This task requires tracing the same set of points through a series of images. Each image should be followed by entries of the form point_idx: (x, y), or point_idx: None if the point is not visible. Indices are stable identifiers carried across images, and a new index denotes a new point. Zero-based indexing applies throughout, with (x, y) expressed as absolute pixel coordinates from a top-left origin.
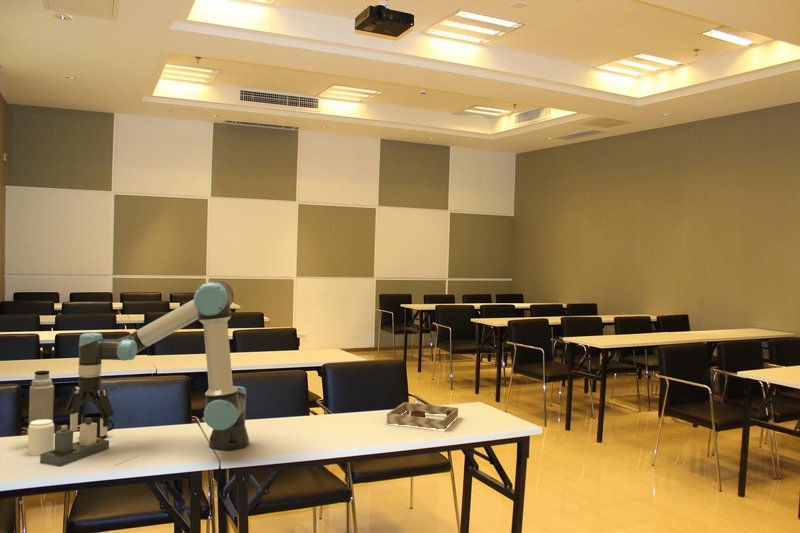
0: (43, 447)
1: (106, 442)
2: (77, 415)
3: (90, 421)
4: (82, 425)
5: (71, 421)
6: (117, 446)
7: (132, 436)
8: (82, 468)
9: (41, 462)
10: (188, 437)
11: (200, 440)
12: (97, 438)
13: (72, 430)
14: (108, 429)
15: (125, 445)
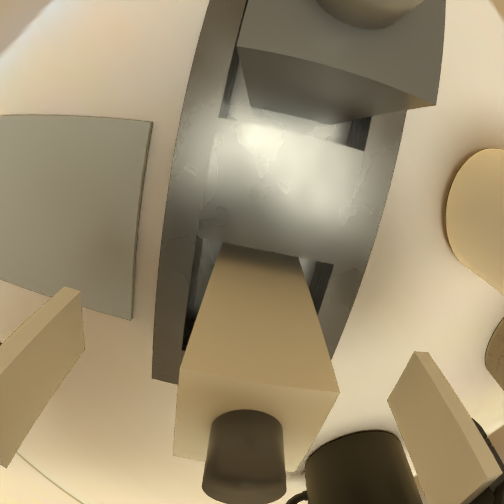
0: (494, 169)
1: (154, 356)
2: (430, 500)
3: (207, 452)
4: (294, 383)
5: (460, 418)
6: None
7: None
8: (120, 28)
9: None
10: (52, 464)
11: None
12: None
13: (255, 49)
14: (301, 498)
15: (157, 414)
